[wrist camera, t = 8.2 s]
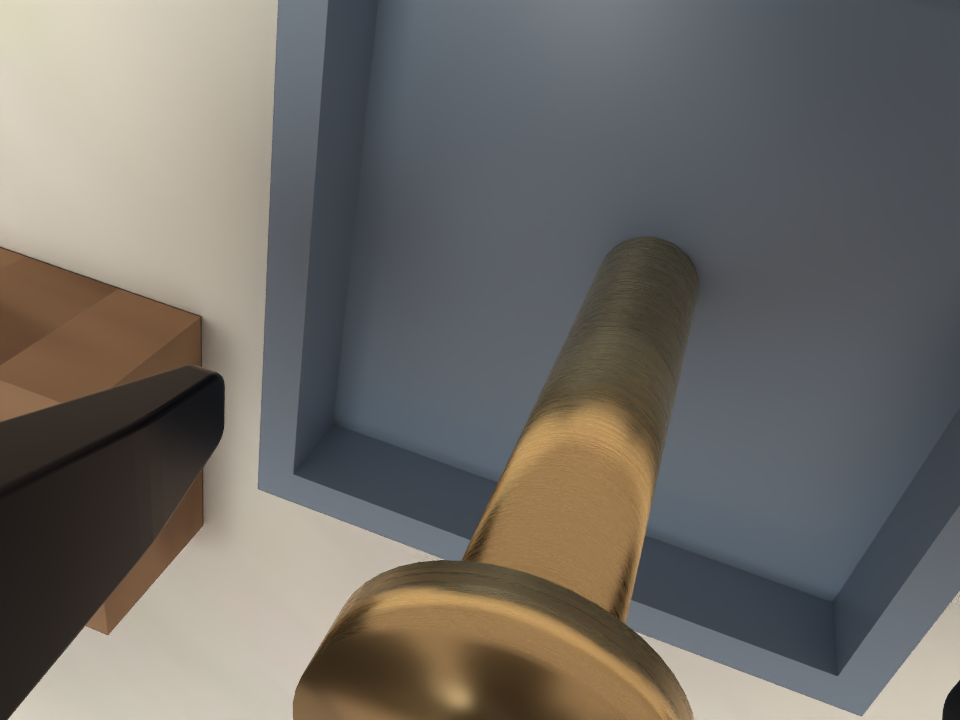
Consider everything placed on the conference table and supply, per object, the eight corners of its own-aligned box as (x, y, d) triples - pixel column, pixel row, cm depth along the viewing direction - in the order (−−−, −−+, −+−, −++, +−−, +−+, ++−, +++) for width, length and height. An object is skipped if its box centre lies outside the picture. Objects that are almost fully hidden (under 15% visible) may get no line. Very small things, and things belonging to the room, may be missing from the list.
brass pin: (707, 389, 15) (617, 954, 8) (537, 332, 16) (283, 802, 8) (777, 226, 14) (754, 754, 6) (580, 168, 14) (304, 573, 6)
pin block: (202, 525, 23) (108, 635, 20) (-9, 443, 24) (-132, 535, 21) (200, 317, 19) (82, 410, 16) (-52, 230, 20) (-211, 300, 17)
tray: (852, 619, 18) (862, 716, 16) (311, 424, 20) (257, 489, 18) (1289, -18, 11) (1407, 13, 9) (367, -225, 13) (288, -241, 11)
